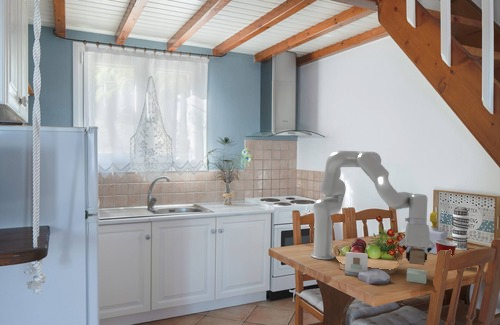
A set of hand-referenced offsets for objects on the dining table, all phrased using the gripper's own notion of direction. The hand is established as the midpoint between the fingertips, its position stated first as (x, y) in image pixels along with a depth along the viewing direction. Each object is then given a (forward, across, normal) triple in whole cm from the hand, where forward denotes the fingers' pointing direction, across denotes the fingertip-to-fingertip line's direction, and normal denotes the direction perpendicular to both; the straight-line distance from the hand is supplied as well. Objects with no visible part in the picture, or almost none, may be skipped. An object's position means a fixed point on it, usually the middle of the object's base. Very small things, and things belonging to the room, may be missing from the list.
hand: (416, 260), depth 178 cm
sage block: (+9, 0, 0) cm, 9 cm away
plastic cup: (+9, +18, +31) cm, 37 cm away
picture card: (+8, -26, -2) cm, 28 cm away
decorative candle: (+9, +33, +72) cm, 80 cm away
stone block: (+9, -18, -8) cm, 22 cm away
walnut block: (+1, 0, 0) cm, 1 cm away
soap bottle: (+9, +16, +55) cm, 58 cm away
